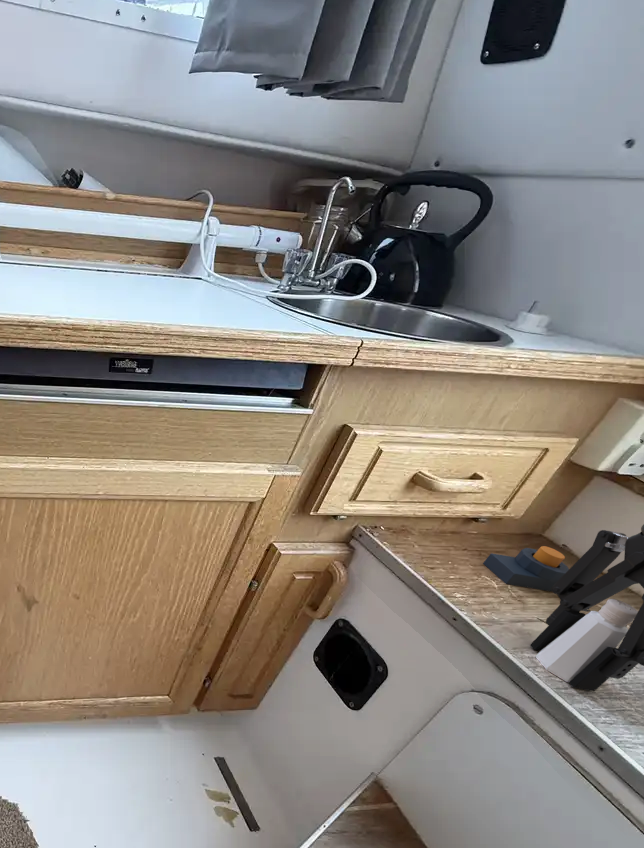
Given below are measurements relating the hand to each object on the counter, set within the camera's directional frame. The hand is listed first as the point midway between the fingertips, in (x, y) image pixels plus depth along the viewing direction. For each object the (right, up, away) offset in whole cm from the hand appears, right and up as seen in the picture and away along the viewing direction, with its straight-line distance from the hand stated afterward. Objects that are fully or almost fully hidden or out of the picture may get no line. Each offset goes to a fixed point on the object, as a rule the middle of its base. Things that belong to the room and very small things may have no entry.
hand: (560, 666), depth 70 cm
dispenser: (+13, +8, +18) cm, 24 cm away
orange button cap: (+14, +11, +16) cm, 24 cm away
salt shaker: (0, 0, 0) cm, 1 cm away
